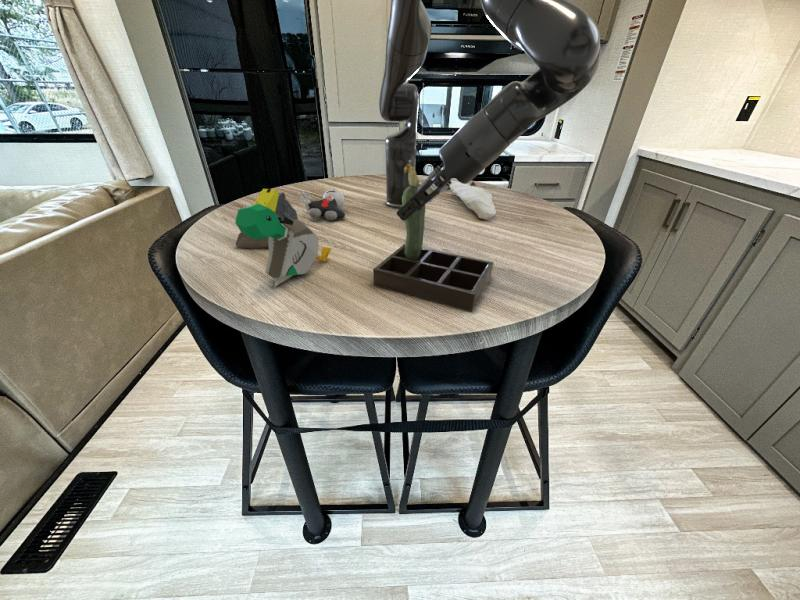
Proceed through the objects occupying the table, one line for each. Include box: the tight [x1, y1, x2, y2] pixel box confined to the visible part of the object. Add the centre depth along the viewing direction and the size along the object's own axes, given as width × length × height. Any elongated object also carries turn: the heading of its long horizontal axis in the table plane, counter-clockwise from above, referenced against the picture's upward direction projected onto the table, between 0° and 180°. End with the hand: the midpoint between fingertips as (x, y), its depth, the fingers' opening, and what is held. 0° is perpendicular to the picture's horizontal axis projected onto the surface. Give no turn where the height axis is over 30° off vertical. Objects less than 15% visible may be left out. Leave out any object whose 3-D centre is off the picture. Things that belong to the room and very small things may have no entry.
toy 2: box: [297, 188, 346, 221], centre depth 97 cm, size 15×7×15 cm
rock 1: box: [235, 191, 299, 249], centre depth 79 cm, size 11×11×15 cm
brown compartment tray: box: [372, 243, 494, 312], centre depth 63 cm, size 13×20×4 cm
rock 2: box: [449, 180, 497, 220], centre depth 104 cm, size 14×5×30 cm
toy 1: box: [234, 188, 332, 288], centre depth 63 cm, size 6×17×20 cm
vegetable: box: [402, 164, 426, 260], centre depth 63 cm, size 4×4×20 cm
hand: (404, 212), depth 63 cm, fingers closed on vegetable, 4 cm apart
